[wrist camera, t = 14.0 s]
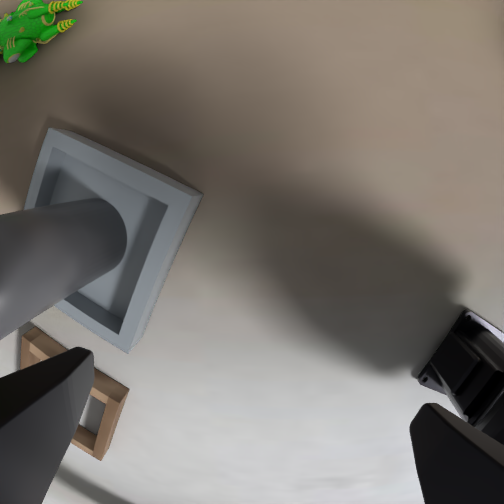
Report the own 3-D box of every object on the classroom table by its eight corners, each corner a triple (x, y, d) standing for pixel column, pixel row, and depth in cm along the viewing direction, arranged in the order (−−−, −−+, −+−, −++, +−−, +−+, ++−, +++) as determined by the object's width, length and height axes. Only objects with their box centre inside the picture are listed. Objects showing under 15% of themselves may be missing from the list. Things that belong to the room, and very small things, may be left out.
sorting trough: (203, 194, 19) (192, 196, 16) (142, 336, 22) (128, 353, 19) (70, 130, 19) (49, 127, 16) (31, 264, 21) (11, 273, 19)
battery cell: (141, 245, 19) (-42, 352, 6) (93, 286, 20) (-62, 393, 7) (99, 182, 18) (-101, 210, 5) (55, 227, 19) (-114, 287, 6)
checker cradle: (129, 389, 23) (119, 403, 21) (108, 448, 25) (100, 461, 23) (35, 326, 23) (21, 335, 21) (30, 395, 25) (20, 405, 23)
